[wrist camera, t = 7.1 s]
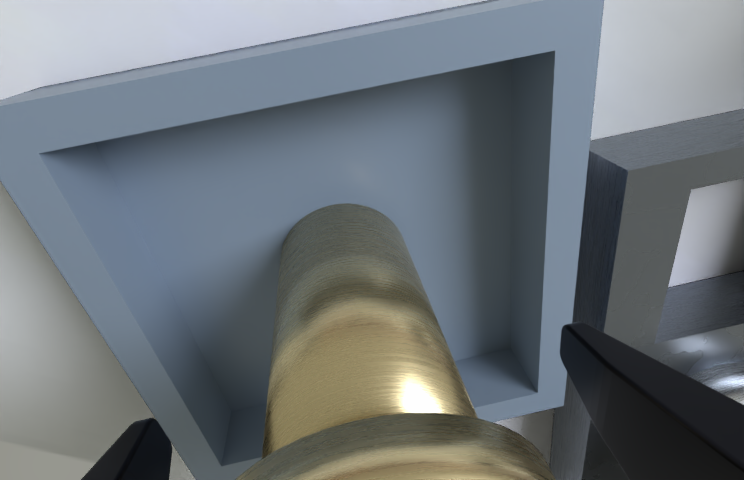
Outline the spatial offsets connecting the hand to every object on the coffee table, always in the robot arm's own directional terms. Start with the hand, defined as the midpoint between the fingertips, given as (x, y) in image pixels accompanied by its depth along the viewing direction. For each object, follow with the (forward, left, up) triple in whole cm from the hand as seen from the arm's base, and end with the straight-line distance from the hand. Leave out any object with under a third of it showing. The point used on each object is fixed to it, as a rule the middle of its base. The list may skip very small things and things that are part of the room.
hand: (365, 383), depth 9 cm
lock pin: (0, 0, -5) cm, 5 cm away
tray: (0, 0, -6) cm, 6 cm away
